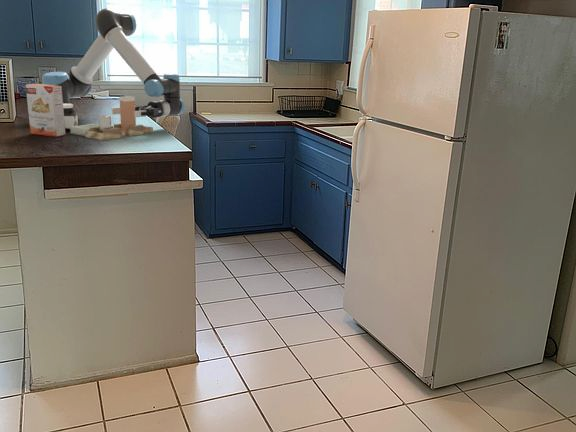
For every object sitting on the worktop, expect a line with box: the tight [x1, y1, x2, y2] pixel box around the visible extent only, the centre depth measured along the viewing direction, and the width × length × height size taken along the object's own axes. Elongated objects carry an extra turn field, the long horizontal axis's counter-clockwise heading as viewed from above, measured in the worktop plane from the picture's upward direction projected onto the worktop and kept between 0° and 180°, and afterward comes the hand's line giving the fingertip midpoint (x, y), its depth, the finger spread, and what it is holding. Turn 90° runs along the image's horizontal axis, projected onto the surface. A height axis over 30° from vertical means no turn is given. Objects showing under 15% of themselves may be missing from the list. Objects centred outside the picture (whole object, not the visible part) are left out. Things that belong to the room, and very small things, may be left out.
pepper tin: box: [97, 114, 112, 133], centre depth 239 cm, size 5×5×9 cm
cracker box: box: [25, 83, 67, 138], centre depth 238 cm, size 14×6×21 cm, turn 70°
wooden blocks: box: [85, 123, 154, 141], centre depth 247 cm, size 12×28×4 cm, turn 148°
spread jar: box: [63, 103, 79, 133], centre depth 253 cm, size 12×11×12 cm
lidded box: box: [119, 95, 137, 136], centre depth 249 cm, size 5×5×16 cm
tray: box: [69, 123, 114, 137], centre depth 248 cm, size 12×14×3 cm
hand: (123, 112), depth 246 cm, fingers open, 13 cm apart
